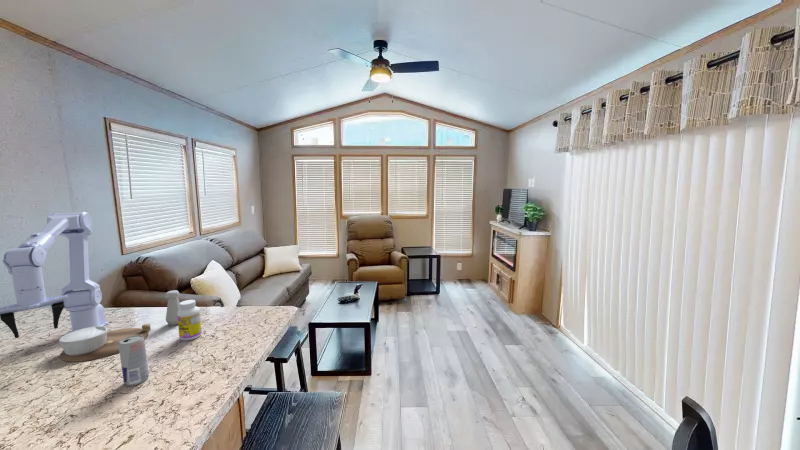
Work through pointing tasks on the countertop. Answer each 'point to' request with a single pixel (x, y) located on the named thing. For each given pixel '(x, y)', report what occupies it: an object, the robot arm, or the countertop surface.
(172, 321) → the salt shaker
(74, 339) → the ramekin
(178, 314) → the supplement bottle
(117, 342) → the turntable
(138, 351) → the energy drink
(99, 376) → the countertop surface
